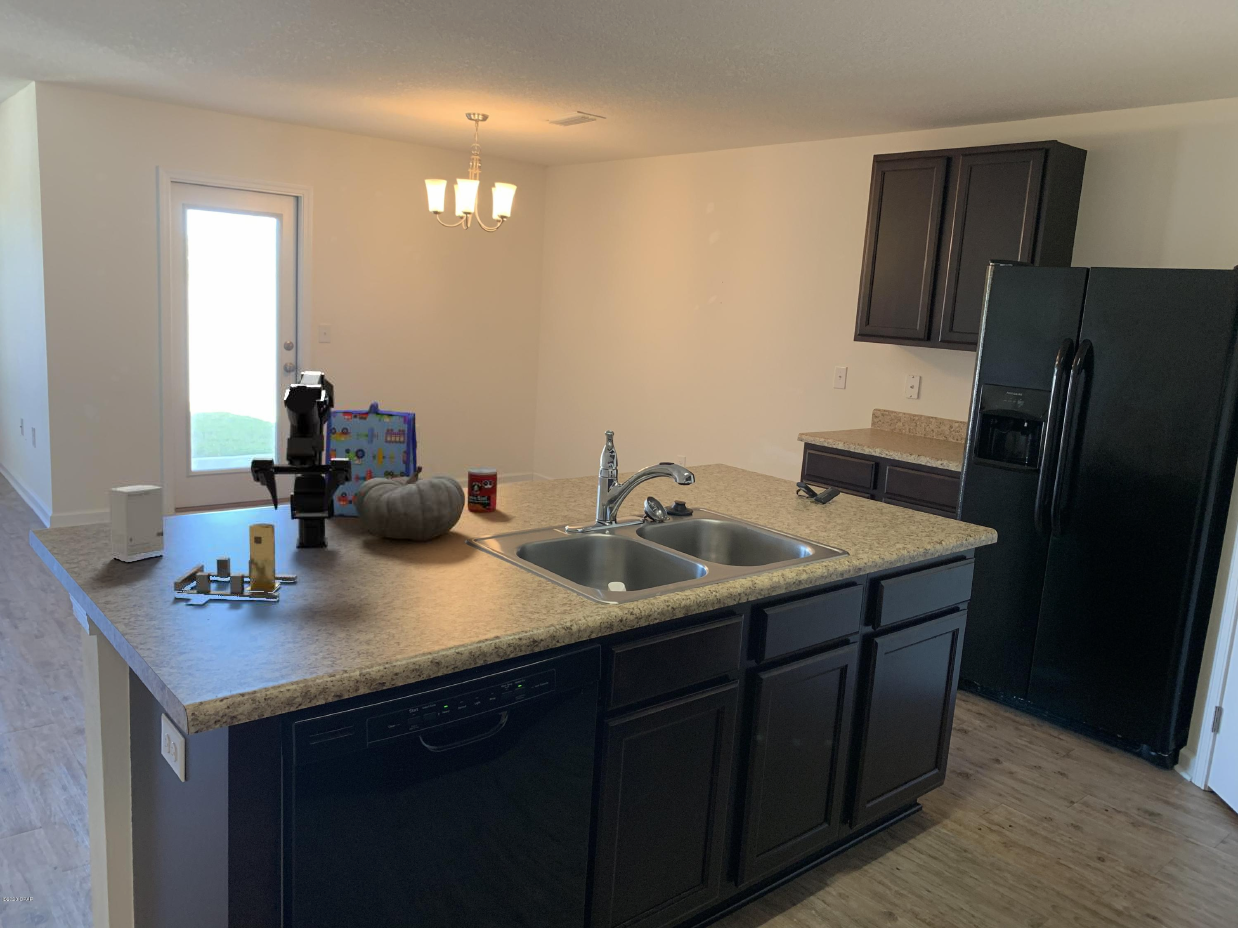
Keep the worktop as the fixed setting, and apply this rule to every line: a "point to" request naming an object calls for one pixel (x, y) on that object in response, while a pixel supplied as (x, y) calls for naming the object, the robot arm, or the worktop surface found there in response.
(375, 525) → the gourd
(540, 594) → the worktop surface
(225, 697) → the worktop surface
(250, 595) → the frame
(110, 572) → the worktop surface
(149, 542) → the skincare box
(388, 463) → the lunch bag
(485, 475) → the canned food
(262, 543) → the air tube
